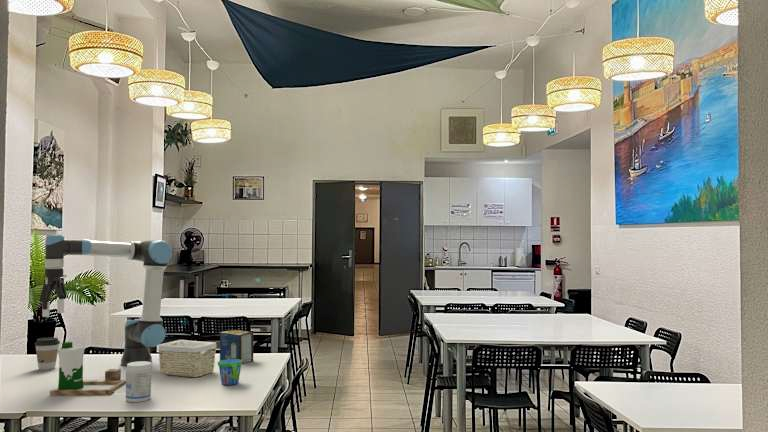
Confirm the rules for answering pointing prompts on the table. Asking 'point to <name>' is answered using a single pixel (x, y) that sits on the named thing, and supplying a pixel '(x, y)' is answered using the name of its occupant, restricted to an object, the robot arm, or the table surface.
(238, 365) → the snack cup
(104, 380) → the broken strip
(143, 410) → the table surface
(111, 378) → the walnut cube
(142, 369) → the supplement tub
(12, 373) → the table surface
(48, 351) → the coffee cup
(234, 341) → the protein box
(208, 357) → the storage basket
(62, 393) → the lane
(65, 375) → the soya milk
